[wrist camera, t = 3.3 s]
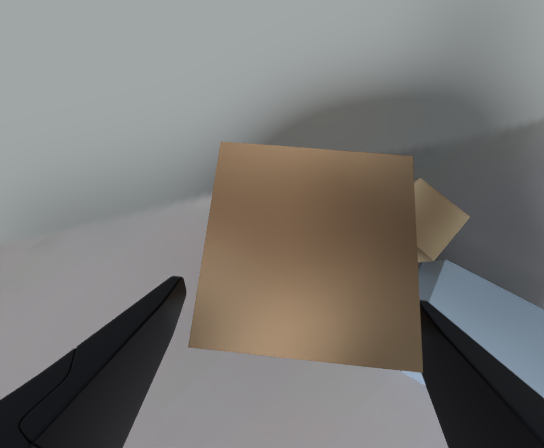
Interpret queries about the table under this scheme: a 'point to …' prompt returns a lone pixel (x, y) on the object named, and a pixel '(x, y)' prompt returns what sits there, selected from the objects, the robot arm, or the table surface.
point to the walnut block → (311, 258)
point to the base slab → (487, 318)
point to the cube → (434, 221)
